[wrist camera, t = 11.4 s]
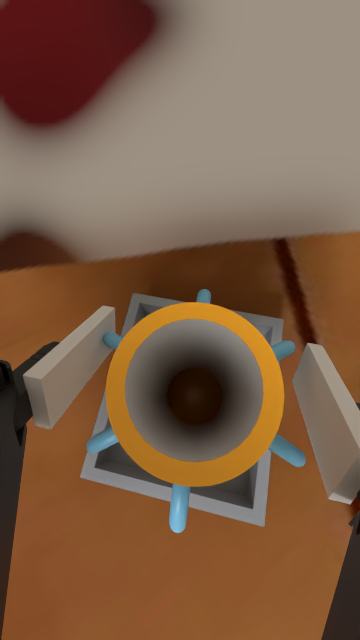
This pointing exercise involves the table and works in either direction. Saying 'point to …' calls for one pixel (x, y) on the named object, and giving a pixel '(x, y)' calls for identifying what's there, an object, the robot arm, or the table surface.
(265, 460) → the tray
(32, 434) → the table surface
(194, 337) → the cylinder
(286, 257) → the table surface
